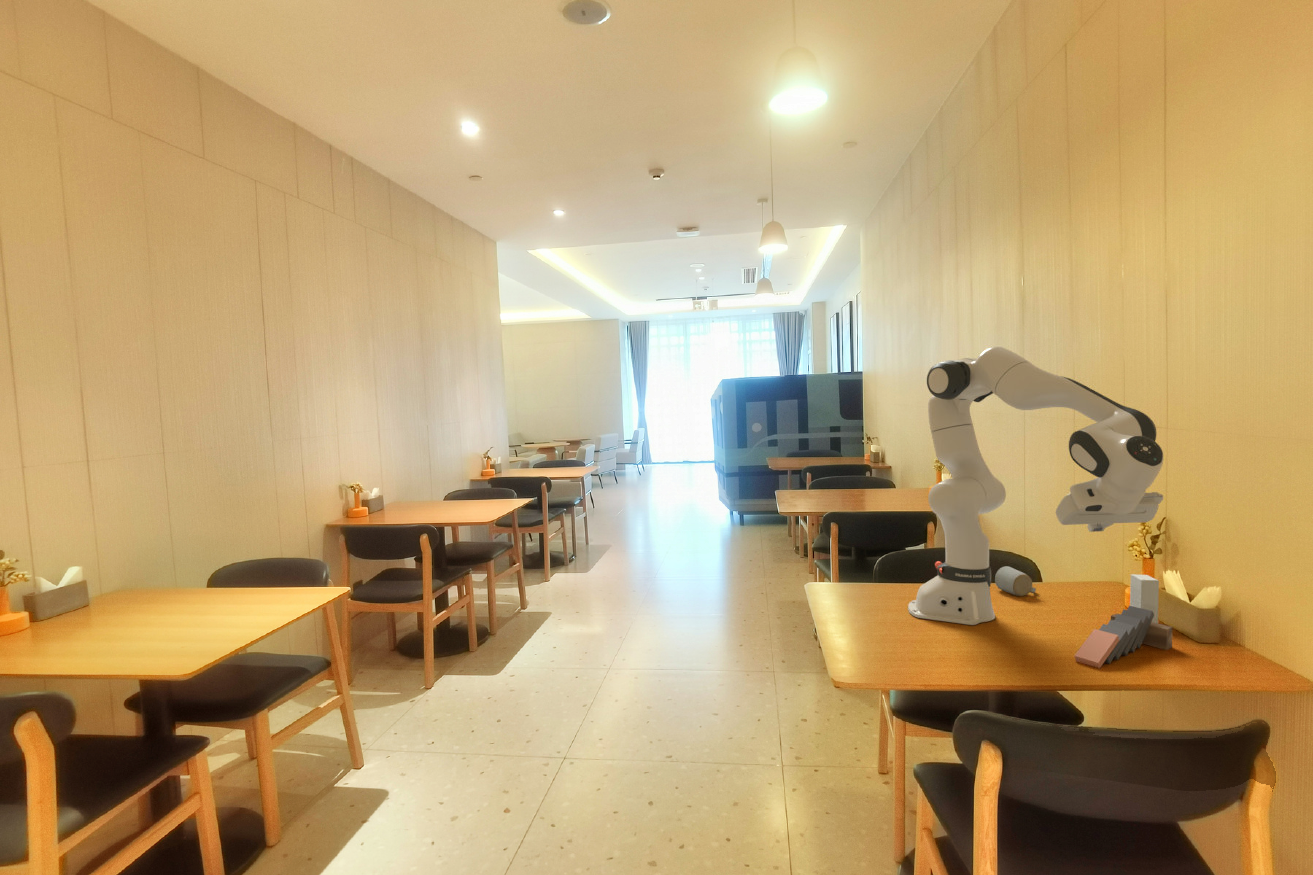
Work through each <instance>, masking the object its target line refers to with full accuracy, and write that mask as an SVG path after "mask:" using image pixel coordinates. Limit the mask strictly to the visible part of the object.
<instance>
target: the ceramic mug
mask: <svg viewBox="0 0 1313 875" xmlns="http://www.w3.org/2000/svg"><path fill="white" fill-rule="evenodd" d="M994 577H995V578H994V582H995V585H996V587H997V588H998V589H999V590H1001V591H1004V592H1006V593H1009V594H1012V595H1014V596H1017V597H1025V596H1027V595H1029V593H1030V592H1031V593H1033V594H1035V593H1036V592H1037V591H1036V590H1037V588H1036V587H1033V580H1032V578H1031V577H1030V576H1029V575H1028V574H1026V573H1024V572H1022V571H1021V570H1017V569H1015V568H1013V567H1011V566H1002V567H1000V568H999V569H998V570H997V571H996V573H995V576H994Z"/></svg>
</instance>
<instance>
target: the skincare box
mask: <svg viewBox="0 0 1313 875" xmlns="http://www.w3.org/2000/svg"><path fill="white" fill-rule="evenodd" d="M1129 587H1130V588H1129V590H1130V592H1129V594H1130V595H1129V596H1130V597H1129V606H1133V607H1137V608H1142V609H1146V610H1150V611H1153V613H1154V617H1153V619H1152V621H1151V622H1154V623H1158V624H1159V597H1160V596H1159V595H1160V594H1159V593H1160V591H1159V590H1160V589H1159V588H1160V580H1158V579H1156V578H1154V577H1152V576H1150V575H1148V574H1130V586H1129Z"/></svg>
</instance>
